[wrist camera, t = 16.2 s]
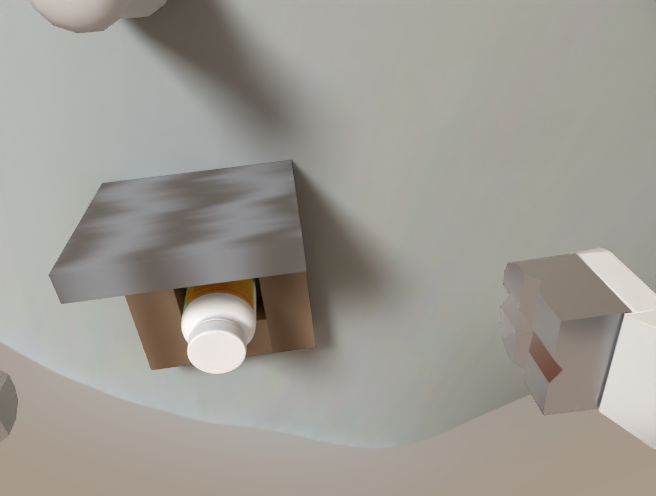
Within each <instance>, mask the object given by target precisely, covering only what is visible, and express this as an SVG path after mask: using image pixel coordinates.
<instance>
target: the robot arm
mask: <svg viewBox="0 0 656 496" xmlns="http://www.w3.org/2000/svg"><path fill="white" fill-rule="evenodd" d="M503 285H504V287H505V288H506V290H507V291H508V293H509V294H510V296H509V297H508V298H507V299H506V300H505V302H504V303H503V304H502V305H501V306H500V321H499V324H500V330H501V337H502V341H503V344H504V346H505V349H506V351H507V353H508V355H509V357H510V359H511V360H512V362H513V363H515V364H517V365H518V366H520V367H522V368H524V369H525V370H526V374H525V381H524V383H525V385H526V386H527V388H528V390H529V392H530V393H531V395H532V396H533V398H534V400H535V402H536V403H537V405H538V407H539V408H540V410H541V412H542V413H543V415H550V414H557V413H566V412H574V411H582V410H590V409H598V408H599V412H600V413H602V414H603V415H605V416H606V417H608V418H609V419H611V420H612V421H613V422H615V423H616V424H618V425H619V426H621V427H622V428H624V429H625V430H626V431H628V432H629V433H631V434H632V435H634V436H635V437H637V438H638V439H640V440H641V441H642V442H644V443H645V444H647V445H648V446H650V447H651V448H653V449H654V450H656V294H655V293H654V292H653V291H652V290H651V289H650V288H649V287H648V286H646V285H645V284H644V283H643V282H642V281H641V280H640V279H639V278H638V277H637V276H636V275H635V274H634V273H632V272H631V271H630V270H629V269H628V268H627V267H626V266H625V265H624V264H623V263H622V262H621V261H620V260H619V259H617V258H616V257H615V256H614V255H613V254H612V253H611V252H610V251H608V250H606V249H603V248H596V249H590V250H584V251H578V252H572V253H569V254H565V255H558V256H551V257H544V258H537V259H530V260H523V261H516V262H509V263H508V264H507V267H506V269H505V271H504V279H503ZM17 404H18V399H17V394H16V390H15V386H14V384H13V382H12V380H11V379H10V376H9V375H8V374H6V373H5V372H3V371H1V370H0V442H1V441H2V440H4V439H5V438H6V437H7V436H8V435H9V434H10V431H11V429H12V427H13V425H14V422H15V420H16V414H17Z"/></svg>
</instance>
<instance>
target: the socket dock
mask: <svg viewBox="0 0 656 496" xmlns="http://www.w3.org/2000/svg"><path fill="white" fill-rule="evenodd" d="M306 271H307V269H306V261H305V254H304V246H303V238H302V231H301V224H300V217H299V210H298V203H297V196H296V189H295V182H294V175H293V168H292V161H291V160H289V161H280V162H272V163H264V164H256V165H248V166H240V167H232V168H223V169H215V170H207V171H199V172H191V173H183V174H175V175H167V176H158V177H150V178H142V179H134V180H126V181H118V182H110V183H102V185H101V186H100V188H99V190H98V192H97V193H96V195H95V197H94V198H93V200H92V202H91V203H90V205H89V207H88V209H87V210H86V212H85V214H84V215H83V217H82V219H81V221H80V222H79V224H78V226H77V227H76V229H75V231H74V233H73V234H72V236H71V238H70V239H69V241H68V243H67V245H66V246H65V248H64V250H63V251H62V253H61V255H60V257H59V258H58V260H57V262H56V263H55V265H54V267H53V269H52V270H51V272H50V274H49V277H50V279H51V281H52V284H53V286H54V288H55V290H56V293H57V295H58V297H59V300H60V302H61V304H65V303H72V302H80V301H87V300H94V299H102V298H109V297H117V296H124V295H125V297H126V300H127V303H128V306H129V308H130V311H131V314H132V317H133V320H134V322H135V325H136V328H137V331H138V334H139V336H140V339H141V342H142V345H143V348H144V351H145V353H146V356H147V359H148V362H149V365H150V367H151V370H156V369H163V368H170V367H177V366H184V365H192V363H191V362H190V360H189V358H188V354H187V348H188V342H187V341H186V340H185V338H184V336H183V333H182V329H181V321H182V314H183V309H184V303H185V297H186V294H185V290H184V287H192V286H199V285H207V284H214V283H222V282H229V281H237V280H244V279H252V278H259V282H260V287H261V293H262V298H260V299H256V329H255V333H254V336H253V338H252V339H251V341H250V342H249V343H248V344H247V348H246V357H248V356H255V355H262V354H270V353H277V352H284V351H291V350H298V349H305V348H312V347H316V346H315V338H314V330H313V322H312V315H311V307H310V299H309V291H308V284H307V276H306Z"/></svg>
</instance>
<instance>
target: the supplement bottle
mask: <svg viewBox="0 0 656 496" xmlns="http://www.w3.org/2000/svg"><path fill="white" fill-rule="evenodd" d="M181 329H182V333H183V336H184V338H185V340H186V341H187V342H188V348H187V354H188V358H189V360H190V362H191V363H192V364H193V365H194V366H195V367H196V368H198V369H199V370H201V371H204V372H207V373H212V374H221V373H226V372H230V371H232V370H234V369H236V368H237V367H239V366H240V365H241V364H242V362H243V361H244V359H245V357H246V348H247V344H248V343H249V342H250V341H251V339H252V338H253V336H254V333H255V329H256V278H252V279H244V280H237V281H229V282H222V283H214V284H207V285H199V286H192V287H187V291H186V297H185V303H184V309H183V314H182V321H181Z"/></svg>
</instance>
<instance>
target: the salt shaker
mask: <svg viewBox="0 0 656 496" xmlns="http://www.w3.org/2000/svg"><path fill="white" fill-rule="evenodd" d="M29 1H30V3H31V5H32V6H33V8H34V9H35V10H36V11H37V12H39V13H40V14H41V15H42V16H43V17H44V18H46V19H47V20H48V21H49V22H50V23H52V24H53V25H54V26H57V27H60V28H63V29H66V30H69V31H73V32H76V33H85V32H95V31H104V30H105V29H107V28H108V27H109V26H111V25H112V24H113V23H115V22H116V21H117V20H119V19H120V18H121V17H122V18H126V19H127V18H139V17H149V16H150V15H151V14H153V13H154V12H155V11H157V10H158V9H159V8H161V7H162V6H163V5H164V4H166V2H167V0H29Z"/></svg>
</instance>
